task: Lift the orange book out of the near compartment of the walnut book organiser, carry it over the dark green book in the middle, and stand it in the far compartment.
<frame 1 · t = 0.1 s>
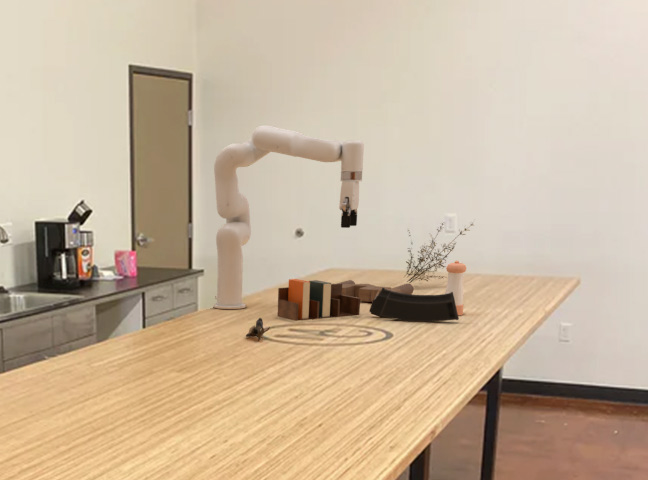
hand: (348, 226, 383), 31 cm above the table, tool pointing down, fingers open, 9 cm apart
dried plant: (426, 285, 470), on the table
green book: (318, 315, 383), point 1 cm above the table, touching book rack
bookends: (365, 298, 433), on the table
book rack: (318, 317, 384), on the table
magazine: (413, 321, 375), on the table
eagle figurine: (256, 339, 342), on the table
orange book: (297, 317, 380), point 1 cm above the table, touching book rack
pepper shaker: (452, 314, 390), on the table
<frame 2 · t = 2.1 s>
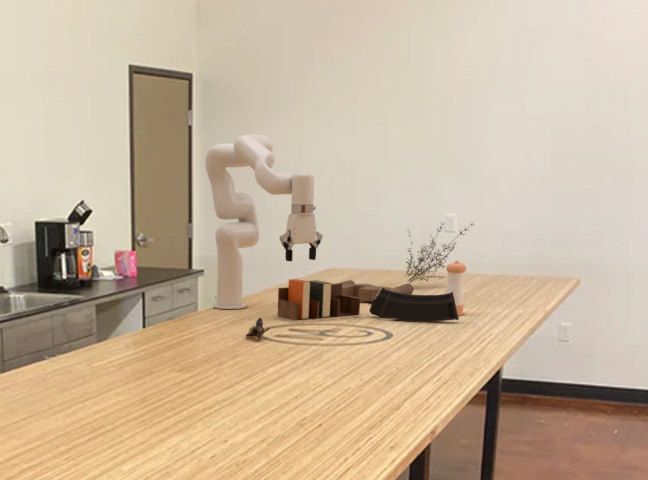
hand: (300, 260, 373), 21 cm above the table, tool pointing down, fingers open, 9 cm apart
nothing on the table moved.
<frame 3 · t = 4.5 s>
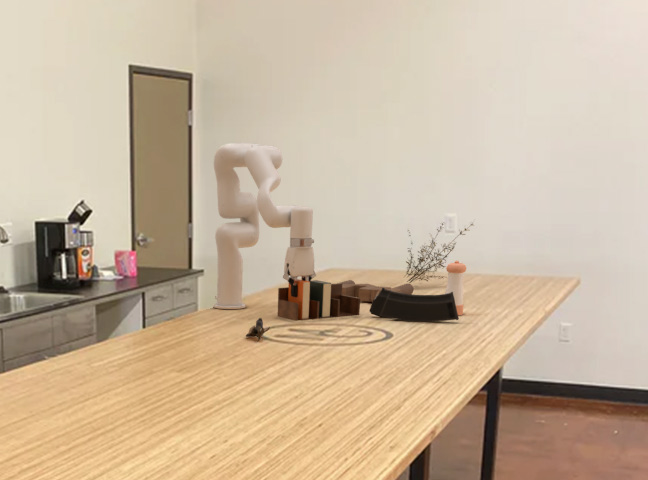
hand: (298, 295, 377), 8 cm above the table, tool pointing down, fingers closed on orange book, 3 cm apart
orange book: (297, 317, 380), point 1 cm above the table, touching book rack, gripper
everything else where it was.
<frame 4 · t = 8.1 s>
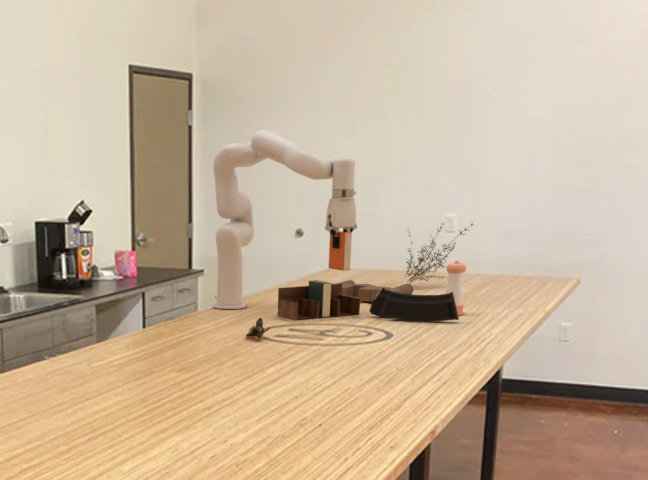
hand: (340, 247, 379), 24 cm above the table, tool pointing down, fingers closed on orange book, 3 cm apart
orange book: (339, 269, 382), point 17 cm above the table, touching gripper
everything else where it was.
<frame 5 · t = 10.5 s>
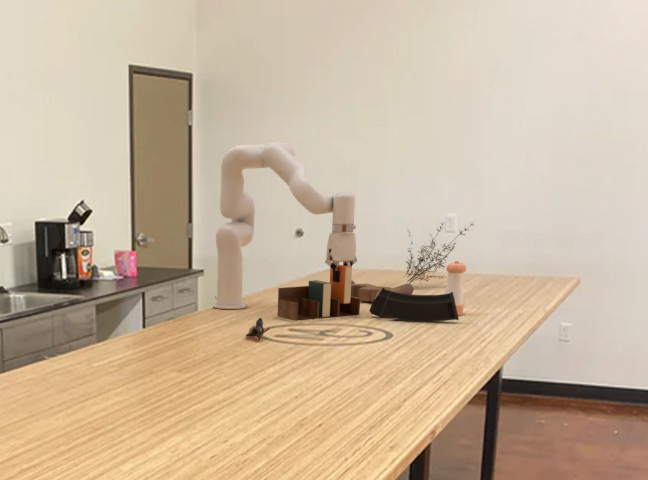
hand: (340, 280, 383), 13 cm above the table, tool pointing down, fingers closed on orange book, 3 cm apart
orange book: (339, 302, 386), point 5 cm above the table, touching gripper
everything else where it was.
when the fingers open (8 cm above the table, at t = 11.8 s): orange book stays where it is, resting on book rack.
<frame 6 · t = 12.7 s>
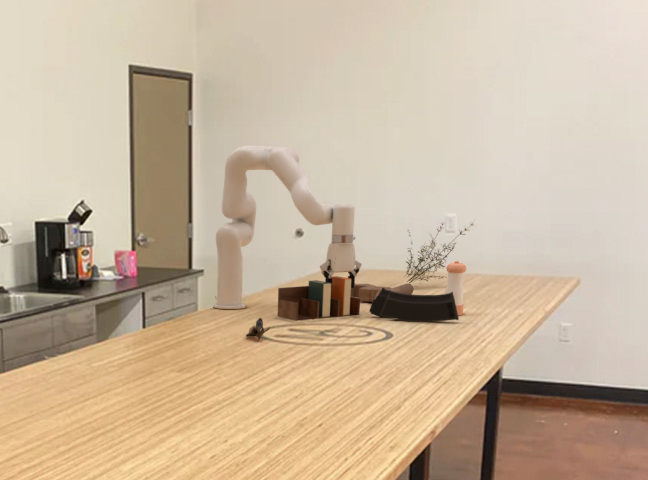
hand: (339, 288, 384), 10 cm above the table, tool pointing down, fingers open, 9 cm apart
orange book: (338, 313, 387), point 1 cm above the table, touching book rack
everything else where it was.
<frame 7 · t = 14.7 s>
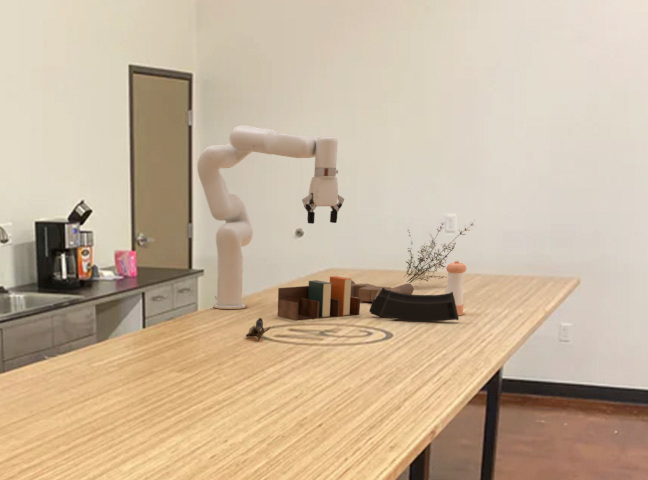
hand: (322, 223, 382), 33 cm above the table, tool pointing down, fingers open, 9 cm apart
nothing on the table moved.
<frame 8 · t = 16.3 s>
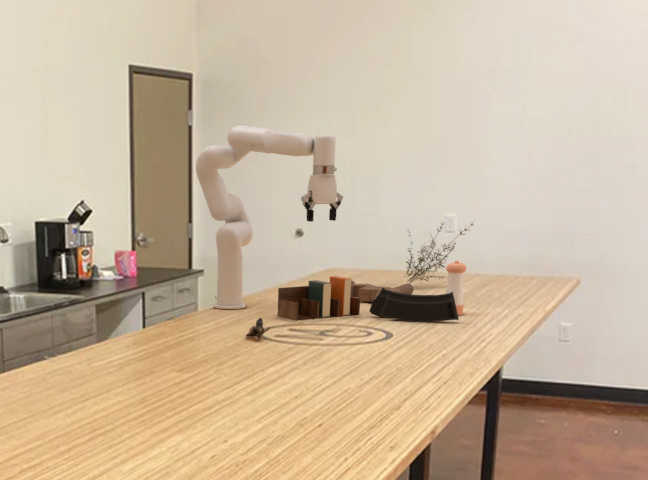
hand: (321, 220, 382), 33 cm above the table, tool pointing down, fingers open, 9 cm apart
nothing on the table moved.
at the end: orange book inside the target area on the book rack (0.1 cm from its centre), point 0.8 cm above the book rack's base; orange book tilted 0°; green book moved 0.0 cm from its start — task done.
